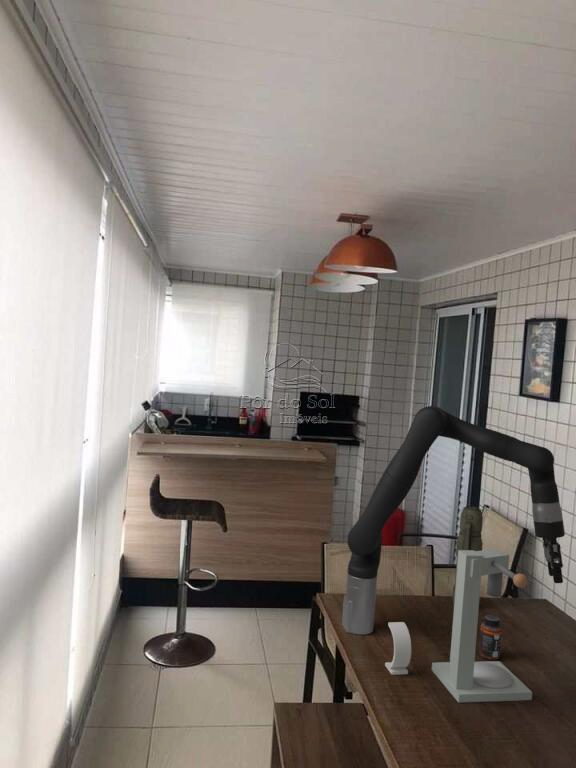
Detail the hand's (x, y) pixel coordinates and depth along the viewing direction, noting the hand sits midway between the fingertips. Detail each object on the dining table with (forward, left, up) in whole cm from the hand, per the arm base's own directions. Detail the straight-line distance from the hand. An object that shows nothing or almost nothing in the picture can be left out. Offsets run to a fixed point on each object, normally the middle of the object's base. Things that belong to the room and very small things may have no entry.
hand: (555, 579), depth 163 cm
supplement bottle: (-10, +13, -28) cm, 32 cm away
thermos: (+1, +50, -28) cm, 57 cm away
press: (-21, -7, -27) cm, 35 cm away
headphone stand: (-41, +6, -28) cm, 50 cm away
